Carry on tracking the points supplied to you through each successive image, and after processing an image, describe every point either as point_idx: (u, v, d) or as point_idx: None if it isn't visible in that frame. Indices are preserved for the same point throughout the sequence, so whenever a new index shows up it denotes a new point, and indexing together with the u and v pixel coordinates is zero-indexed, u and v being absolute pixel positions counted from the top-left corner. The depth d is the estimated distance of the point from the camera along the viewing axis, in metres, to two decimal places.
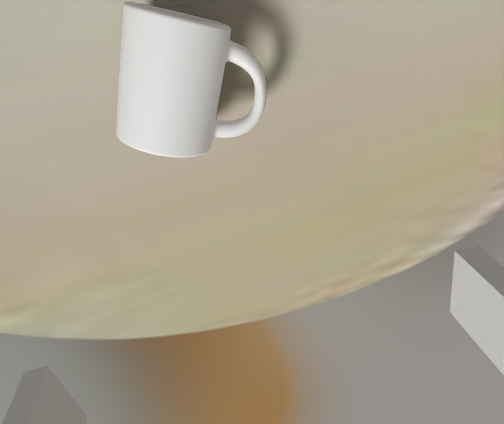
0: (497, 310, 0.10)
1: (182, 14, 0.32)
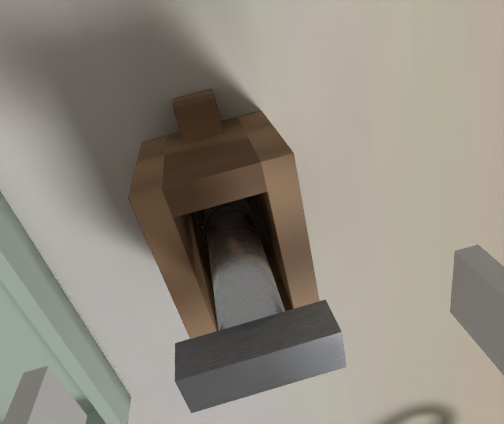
0: (497, 310, 0.10)
1: None
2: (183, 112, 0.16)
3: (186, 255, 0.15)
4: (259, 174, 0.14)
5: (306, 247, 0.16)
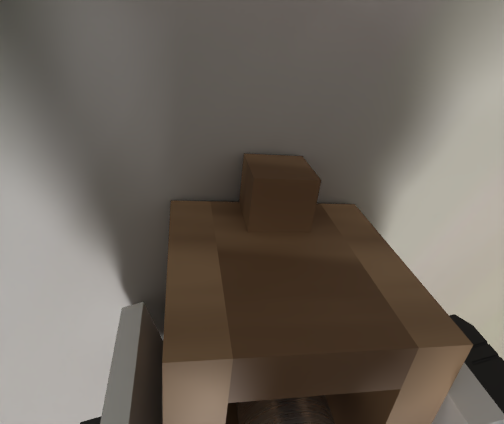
0: None
1: None
2: (266, 188, 0.10)
3: None
4: (404, 364, 0.07)
5: None
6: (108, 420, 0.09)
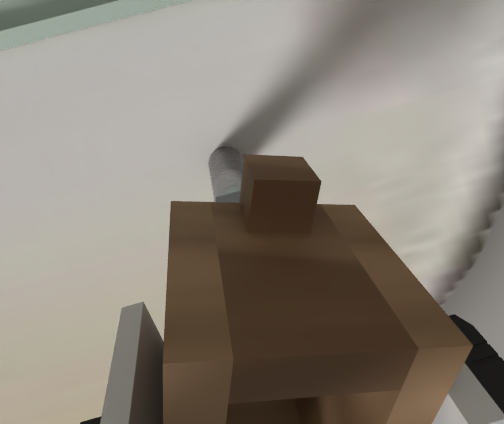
0: None
1: None
2: (266, 189, 0.10)
3: None
4: (404, 365, 0.08)
5: None
6: (108, 420, 0.09)
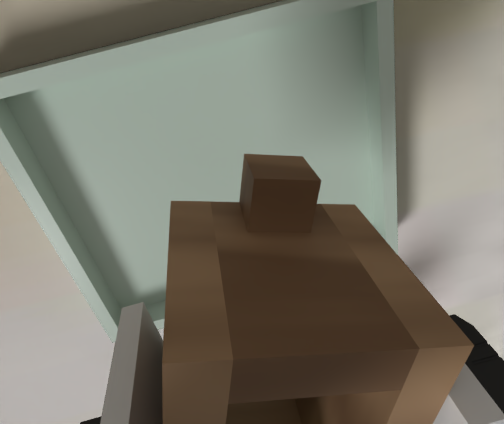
0: None
1: None
2: (266, 188, 0.10)
3: None
4: (405, 365, 0.07)
5: None
6: (108, 420, 0.09)
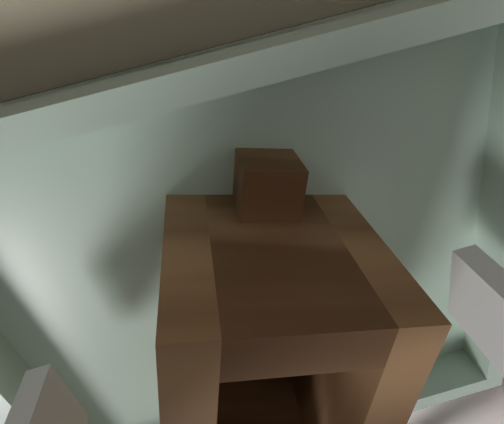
0: (495, 310, 0.10)
1: None
2: (256, 180, 0.10)
3: None
4: (386, 344, 0.08)
5: None
6: None
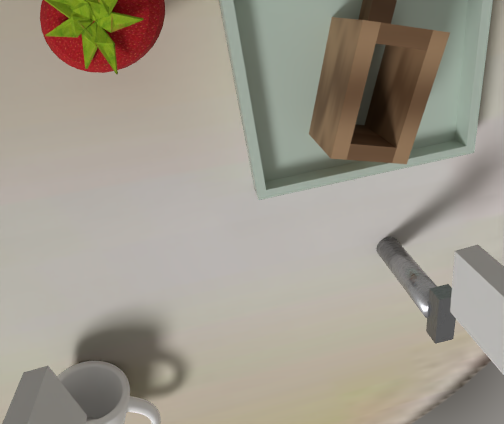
0: (497, 310, 0.10)
1: (99, 365, 0.42)
2: (377, 1, 0.27)
3: (367, 72, 0.25)
4: (428, 37, 0.24)
5: (426, 98, 0.26)
6: None
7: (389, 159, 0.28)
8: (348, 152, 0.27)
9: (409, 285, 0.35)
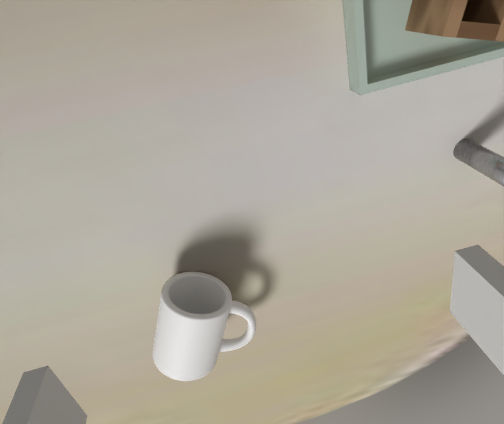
0: (498, 310, 0.10)
1: (198, 275, 0.46)
2: None
3: None
4: None
5: None
6: None
7: (493, 37, 0.31)
8: (458, 29, 0.30)
9: (497, 169, 0.38)
